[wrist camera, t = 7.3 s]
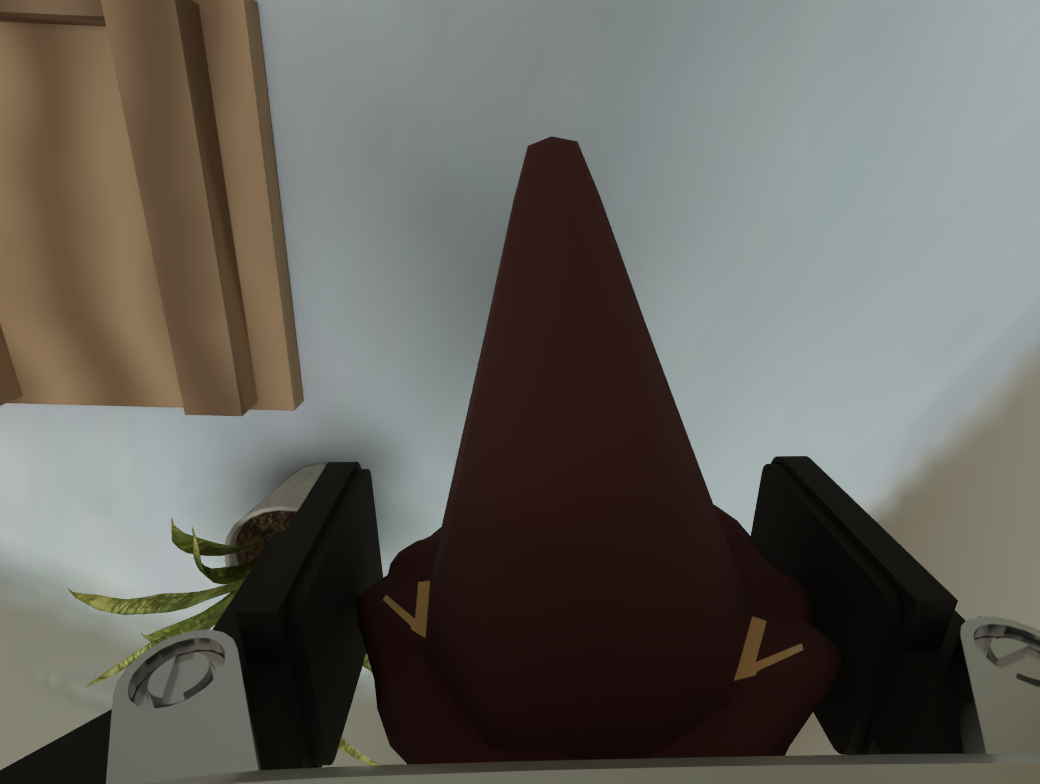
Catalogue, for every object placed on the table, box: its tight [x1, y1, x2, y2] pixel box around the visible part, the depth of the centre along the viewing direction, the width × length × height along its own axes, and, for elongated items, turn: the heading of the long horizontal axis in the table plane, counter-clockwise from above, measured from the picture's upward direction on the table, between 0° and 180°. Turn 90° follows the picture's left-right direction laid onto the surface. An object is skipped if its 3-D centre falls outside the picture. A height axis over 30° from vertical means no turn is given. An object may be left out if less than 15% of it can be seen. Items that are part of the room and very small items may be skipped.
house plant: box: [68, 464, 379, 765], centre depth 29 cm, size 14×14×16 cm
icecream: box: [356, 137, 842, 764], centre depth 9 cm, size 7×7×15 cm
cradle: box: [0, 0, 303, 416], centre depth 28 cm, size 20×20×4 cm
